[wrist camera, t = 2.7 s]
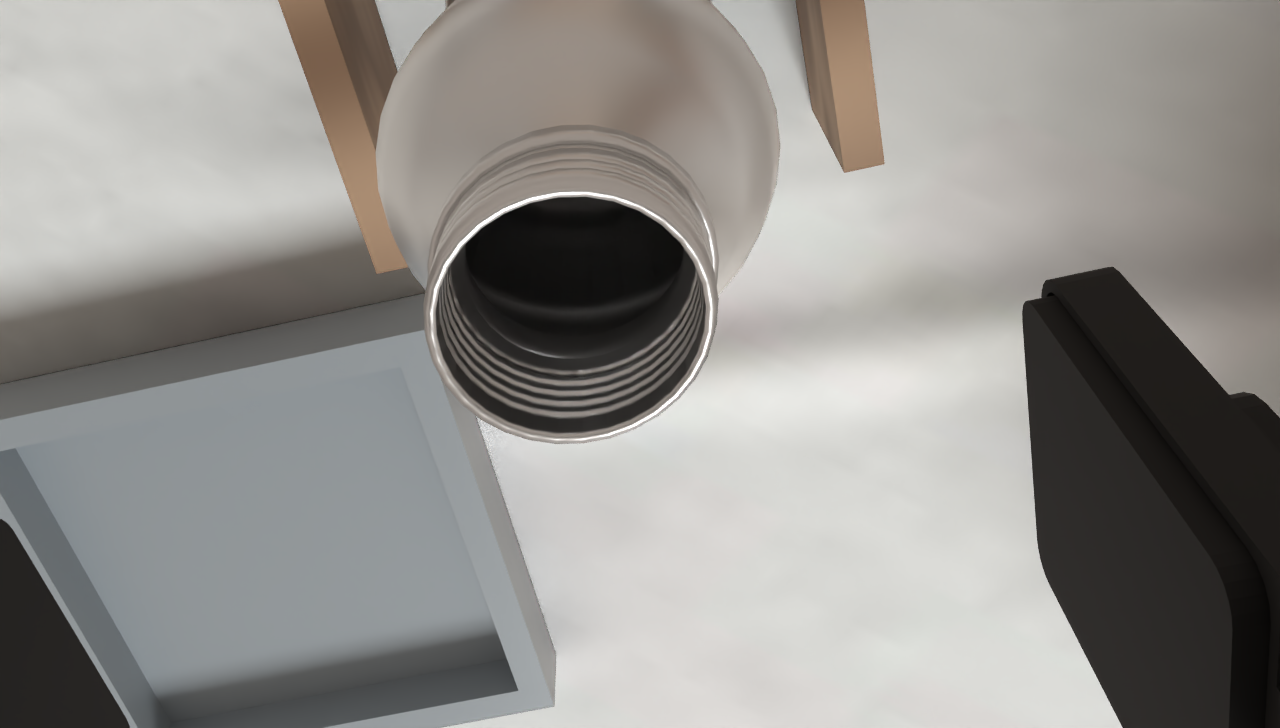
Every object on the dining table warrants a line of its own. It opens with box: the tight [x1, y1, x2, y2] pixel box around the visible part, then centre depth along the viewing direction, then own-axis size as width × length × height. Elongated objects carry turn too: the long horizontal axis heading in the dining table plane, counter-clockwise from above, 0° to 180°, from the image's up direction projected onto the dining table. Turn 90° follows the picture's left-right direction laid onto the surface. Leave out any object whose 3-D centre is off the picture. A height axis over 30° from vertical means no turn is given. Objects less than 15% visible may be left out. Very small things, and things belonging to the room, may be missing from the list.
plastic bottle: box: [376, 0, 780, 444], centre depth 24 cm, size 6×7×20 cm
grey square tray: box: [0, 293, 556, 728], centre depth 40 cm, size 15×15×2 cm
